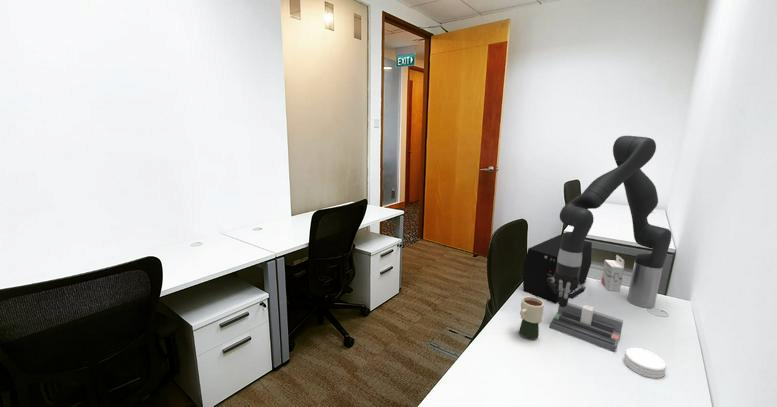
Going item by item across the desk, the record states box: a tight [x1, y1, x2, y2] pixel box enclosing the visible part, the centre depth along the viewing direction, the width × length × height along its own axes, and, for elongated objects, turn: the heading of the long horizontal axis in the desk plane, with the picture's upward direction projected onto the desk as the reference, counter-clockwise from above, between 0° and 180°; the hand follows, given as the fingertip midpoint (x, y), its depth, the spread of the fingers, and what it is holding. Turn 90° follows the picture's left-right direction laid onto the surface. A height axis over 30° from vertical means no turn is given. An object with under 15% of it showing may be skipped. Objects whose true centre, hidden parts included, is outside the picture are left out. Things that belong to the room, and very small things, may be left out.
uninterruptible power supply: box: [522, 234, 593, 305], centre depth 151 cm, size 16×34×20 cm, turn 131°
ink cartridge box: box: [600, 254, 625, 293], centre depth 152 cm, size 9×5×15 cm, turn 168°
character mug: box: [518, 295, 545, 340], centre depth 115 cm, size 11×7×13 cm, turn 123°
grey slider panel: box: [549, 302, 624, 353], centre depth 118 cm, size 12×20×6 cm, turn 49°
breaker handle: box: [580, 304, 595, 326], centre depth 118 cm, size 3×3×7 cm
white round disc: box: [623, 347, 667, 379], centre depth 102 cm, size 10×10×4 cm
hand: (562, 306), depth 123 cm, fingers closed
